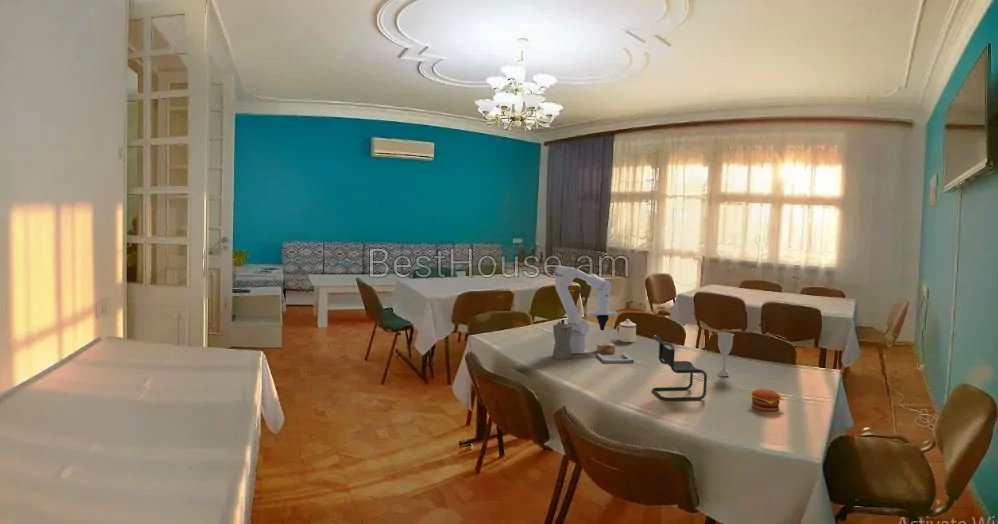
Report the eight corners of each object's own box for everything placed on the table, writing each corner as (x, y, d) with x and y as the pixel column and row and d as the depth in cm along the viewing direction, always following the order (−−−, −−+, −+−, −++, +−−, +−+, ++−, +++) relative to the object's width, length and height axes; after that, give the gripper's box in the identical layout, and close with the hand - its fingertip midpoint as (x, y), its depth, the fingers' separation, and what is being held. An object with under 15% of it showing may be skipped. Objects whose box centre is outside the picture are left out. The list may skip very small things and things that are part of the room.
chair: (648, 389, 225) (651, 334, 222) (691, 389, 226) (694, 334, 224) (661, 401, 212) (664, 342, 210) (706, 400, 213) (709, 342, 211)
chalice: (733, 378, 241) (735, 336, 239) (716, 377, 243) (718, 335, 241) (730, 373, 248) (732, 332, 247) (713, 372, 250) (715, 331, 248)
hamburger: (759, 401, 213) (760, 384, 212) (784, 409, 205) (786, 391, 205) (745, 406, 207) (746, 388, 207) (770, 414, 200) (772, 396, 199)
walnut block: (598, 353, 280) (598, 345, 279) (596, 350, 285) (596, 343, 284) (614, 353, 280) (615, 345, 279) (612, 351, 285) (612, 343, 284)
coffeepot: (575, 360, 265) (576, 322, 264) (555, 361, 264) (556, 322, 262) (566, 352, 281) (567, 316, 279) (548, 352, 279) (548, 316, 278)
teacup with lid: (639, 341, 305) (640, 319, 304) (628, 343, 300) (629, 321, 298) (621, 337, 315) (622, 316, 313) (610, 339, 309) (611, 318, 308)
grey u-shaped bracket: (604, 363, 262) (604, 360, 262) (596, 356, 274) (596, 353, 274) (633, 362, 263) (633, 360, 263) (624, 355, 276) (624, 353, 276)
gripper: (614, 301, 292) (613, 328, 293) (586, 302, 290) (585, 328, 291) (618, 304, 285) (617, 331, 286) (590, 304, 283) (589, 331, 284)
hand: (602, 329), depth 288 cm, fingers closed
